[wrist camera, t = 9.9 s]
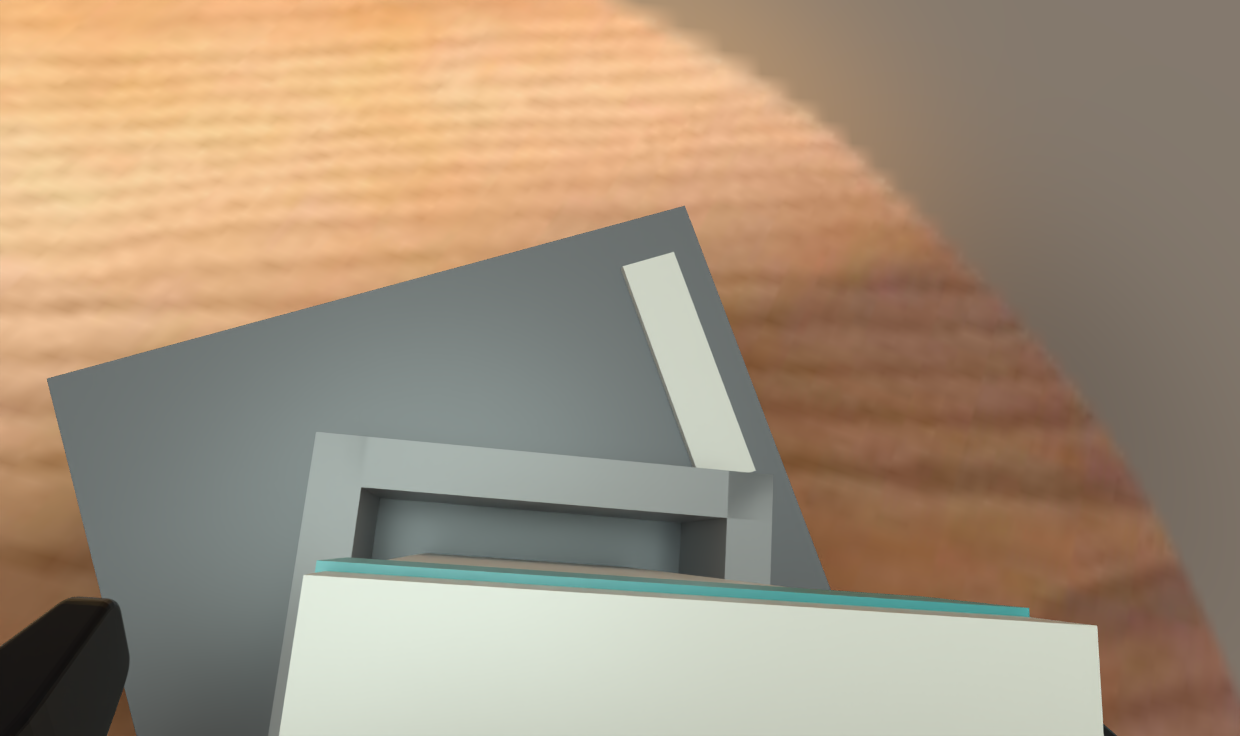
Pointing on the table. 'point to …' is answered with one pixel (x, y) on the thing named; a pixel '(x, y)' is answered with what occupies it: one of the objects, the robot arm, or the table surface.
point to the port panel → (373, 377)
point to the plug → (666, 657)
